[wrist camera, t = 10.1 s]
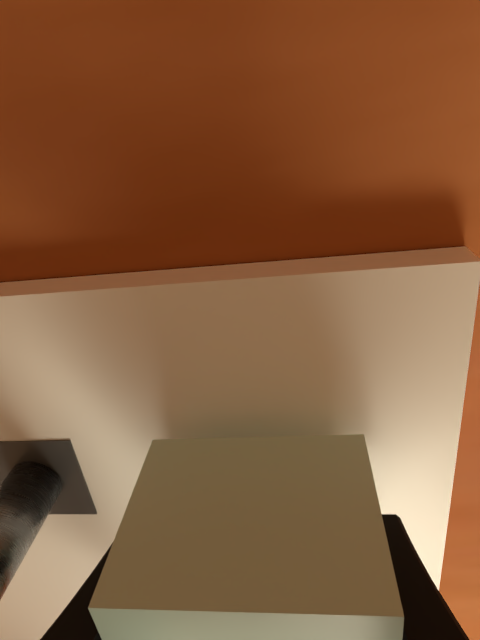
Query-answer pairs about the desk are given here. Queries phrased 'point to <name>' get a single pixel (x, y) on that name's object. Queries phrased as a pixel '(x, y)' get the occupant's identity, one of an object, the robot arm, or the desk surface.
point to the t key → (23, 513)
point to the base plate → (229, 387)
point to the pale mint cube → (251, 545)
